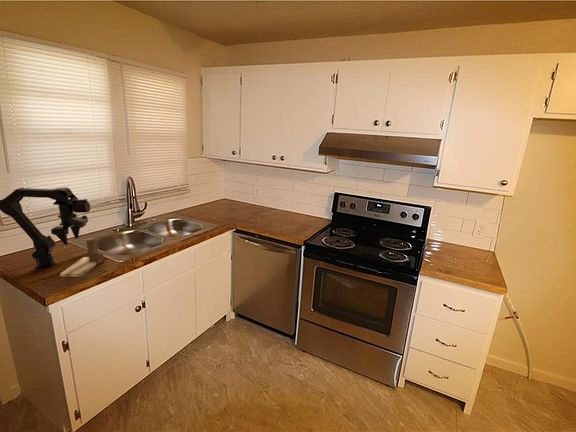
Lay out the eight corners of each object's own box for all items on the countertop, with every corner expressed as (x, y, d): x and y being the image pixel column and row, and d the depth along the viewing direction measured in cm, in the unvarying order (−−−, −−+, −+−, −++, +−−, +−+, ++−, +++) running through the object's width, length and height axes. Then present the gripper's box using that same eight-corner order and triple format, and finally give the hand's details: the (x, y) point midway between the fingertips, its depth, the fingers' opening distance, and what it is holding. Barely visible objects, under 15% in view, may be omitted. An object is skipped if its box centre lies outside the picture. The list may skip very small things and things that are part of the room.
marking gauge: (87, 264, 166) (83, 240, 163) (92, 260, 171) (89, 237, 167) (99, 264, 167) (95, 240, 163) (103, 260, 172) (100, 237, 168)
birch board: (60, 276, 153) (59, 273, 153) (83, 259, 172) (83, 256, 172) (81, 276, 154) (81, 273, 153) (102, 259, 173) (102, 257, 173)
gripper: (71, 218, 150) (77, 248, 154) (93, 208, 168) (97, 235, 172) (47, 217, 149) (53, 248, 154) (71, 207, 167) (76, 235, 172)
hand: (71, 241), depth 163 cm, fingers open, 9 cm apart
